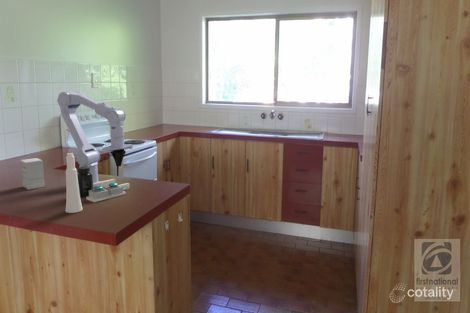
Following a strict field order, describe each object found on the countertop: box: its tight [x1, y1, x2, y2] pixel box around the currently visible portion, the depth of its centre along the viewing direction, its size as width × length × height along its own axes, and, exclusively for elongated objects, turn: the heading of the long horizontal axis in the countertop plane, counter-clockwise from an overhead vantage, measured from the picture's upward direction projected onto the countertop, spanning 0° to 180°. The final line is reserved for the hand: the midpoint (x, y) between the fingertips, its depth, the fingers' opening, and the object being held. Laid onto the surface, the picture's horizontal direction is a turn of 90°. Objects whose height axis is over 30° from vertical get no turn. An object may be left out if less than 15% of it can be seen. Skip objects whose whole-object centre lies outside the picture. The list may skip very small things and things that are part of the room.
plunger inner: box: [109, 182, 119, 189], centre depth 161 cm, size 4×4×4 cm
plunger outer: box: [94, 186, 104, 192], centre depth 156 cm, size 4×4×4 cm
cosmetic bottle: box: [65, 152, 84, 214], centre depth 140 cm, size 6×6×22 cm
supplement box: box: [20, 157, 46, 191], centre depth 171 cm, size 7×7×13 cm
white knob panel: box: [86, 178, 130, 203], centre depth 165 cm, size 18×21×4 cm
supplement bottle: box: [77, 167, 93, 198], centre depth 160 cm, size 7×7×12 cm
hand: (118, 165), depth 172 cm, fingers closed
